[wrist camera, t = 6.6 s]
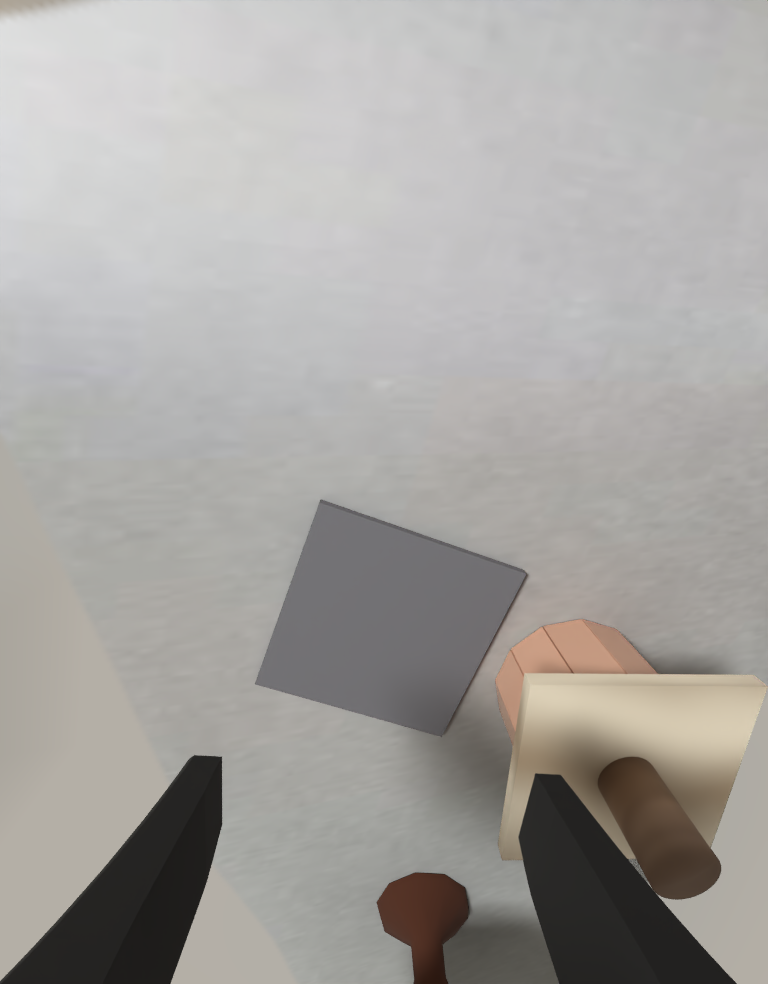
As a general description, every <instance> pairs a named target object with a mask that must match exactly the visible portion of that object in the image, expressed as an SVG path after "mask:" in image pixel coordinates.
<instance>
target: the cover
mask: <svg viewBox="0 0 768 984" xmlns="http://www.w3.org/2000/svg"><path fill="white" fill-rule="evenodd" d="M767 688H768V686H766V685H765V684H764V683H763V682H762V681H760V680H759V679H758V678H757V677H755V676H754V675H695V674H567V673H524V680H523V686H522V693H521V699H520V705H519V712H518V718H517V725H516V731H515V738H514V744H513V750H512V757H511V763H510V770H509V776H508V783H507V789H506V795H505V802H504V808H503V815H502V821H501V828H500V834H499V840H498V847H499V850H500V854H501V858H502V860H523V857H522V853H521V848H520V843H519V838H518V836H519V832H520V829H521V825H522V821H523V817H524V814H525V810H526V806H527V802H528V799H529V795H530V791H531V787H532V784H533V780H534V776H535V773H538V774H557V775H561V776H562V777H563V778H564V780H565V781H566V782H567V783H568V785H569V786H570V787H571V788H572V790H573V791H574V792H575V793H576V795H577V796H578V797H579V799H580V800H581V801H582V802H583V804H584V805H585V806H586V808H587V809H588V810H589V811H590V813H591V814H592V815H593V816H594V818H595V819H596V820H597V822H598V823H599V824H600V825H601V827H602V828H603V829H604V830H605V832H606V833H607V834H608V835H609V837H610V838H611V839H612V841H613V842H614V843H615V844H616V846H617V847H618V848H619V849H620V850H621V852H622V853H623V854H624V855H625V857H626V858H627V859H637V861H638V863H639V865H640V867H641V869H642V870H643V872H644V874H645V876H646V878H647V880H648V882H649V883H650V885H651V887H652V889H653V890H654V891H655V893H657V894H658V895H660V896H662V897H664V898H668V899H686V898H691V897H694V896H696V895H699V894H701V893H703V892H705V891H706V890H708V889H709V888H710V887H711V886H712V885H714V884H715V882H716V881H717V879H718V878H719V876H720V873H721V864H720V861H719V860H718V858H717V857H716V855H715V854H714V852H713V851H712V850H711V845H712V843H713V840H714V837H715V834H716V831H717V829H718V826H719V823H720V820H721V817H722V814H723V812H724V809H725V806H726V803H727V801H728V798H729V795H730V792H731V789H732V787H733V784H734V781H735V778H736V775H737V772H738V770H739V767H740V764H741V761H742V758H743V756H744V753H745V750H746V747H747V744H748V742H749V739H750V736H751V733H752V730H753V727H754V724H755V722H756V719H757V716H758V713H759V711H760V708H761V705H762V702H763V699H764V696H765V694H766V691H767Z"/></svg>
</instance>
